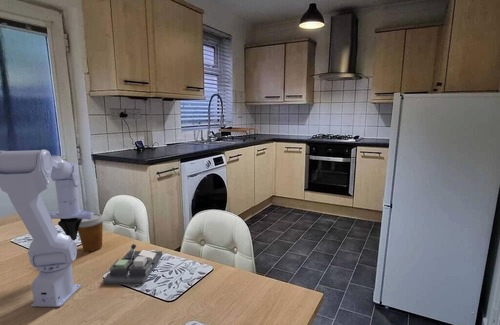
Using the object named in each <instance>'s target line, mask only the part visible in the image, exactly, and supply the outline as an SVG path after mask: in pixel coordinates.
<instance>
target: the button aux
mask: <svg viewBox="0 0 500 325" xmlns="http://www.w3.org/2000/svg"><path fill="white" fill-rule="evenodd" d="M133 262H134V267H144V266H145V264H146V263H147V257H144V256H137V257H136V259H135V260H134V261H133Z"/></svg>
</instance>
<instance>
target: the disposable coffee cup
mask: <svg viewBox="0 0 500 325" xmlns="http://www.w3.org/2000/svg"><path fill="white" fill-rule="evenodd" d="M103 222H104V217H103V216H102V214H101V213H94V218H93V219H91V220H88V219H82V221H81V223H80V226H79V229H78V233H77V234H78V236H79V240H80V242H81V246H82V249H83V251H84V252H94V251H97V250H100V249H101V248H102V247H103V224H104V223H103Z"/></svg>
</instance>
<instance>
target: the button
mask: <svg viewBox="0 0 500 325" xmlns="http://www.w3.org/2000/svg"><path fill="white" fill-rule="evenodd" d="M117 260H118V261H117ZM117 260H116V261H117V263H116V264H115V267H126V266H127V265H128V263H129V262H128V260H121V259H117Z"/></svg>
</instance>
